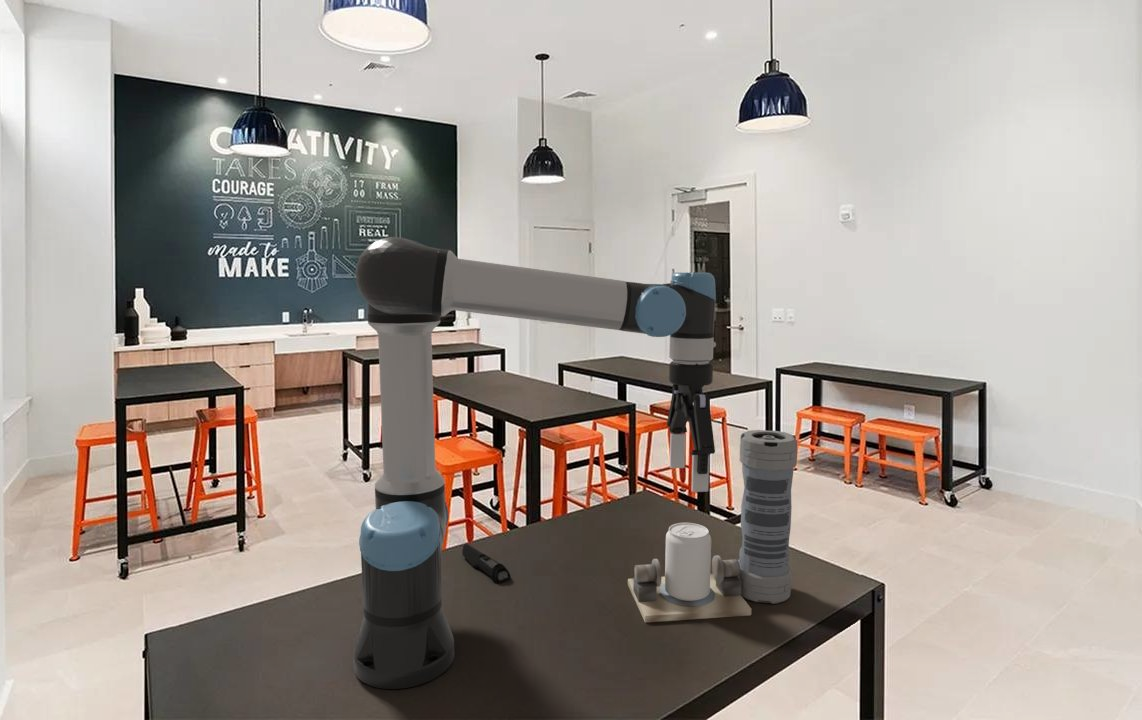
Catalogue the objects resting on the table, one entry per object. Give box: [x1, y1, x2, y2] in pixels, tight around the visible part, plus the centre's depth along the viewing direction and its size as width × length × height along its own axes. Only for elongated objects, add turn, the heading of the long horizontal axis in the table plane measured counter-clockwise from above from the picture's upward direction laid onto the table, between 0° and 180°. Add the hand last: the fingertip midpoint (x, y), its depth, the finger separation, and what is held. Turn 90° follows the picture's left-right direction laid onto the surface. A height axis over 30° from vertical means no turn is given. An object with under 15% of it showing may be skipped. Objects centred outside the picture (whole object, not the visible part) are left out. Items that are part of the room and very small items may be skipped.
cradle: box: [627, 554, 752, 624], centre depth 122 cm, size 19×14×8 cm
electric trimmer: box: [461, 543, 511, 584], centre depth 135 cm, size 4×16×3 cm, turn 36°
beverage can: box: [664, 522, 712, 601], centre depth 121 cm, size 8×8×12 cm
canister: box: [737, 429, 798, 605], centre depth 123 cm, size 10×10×30 cm
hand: (687, 478), depth 119 cm, fingers open, 13 cm apart
